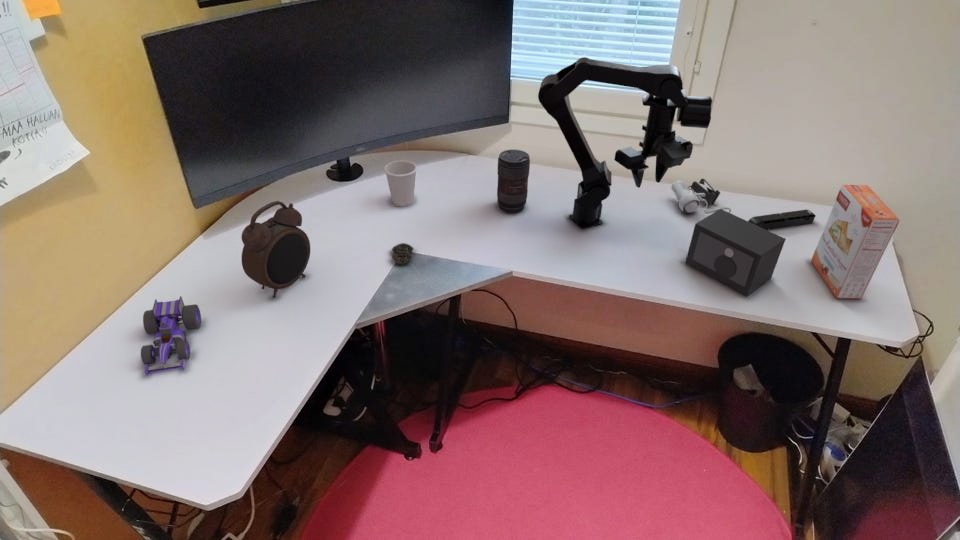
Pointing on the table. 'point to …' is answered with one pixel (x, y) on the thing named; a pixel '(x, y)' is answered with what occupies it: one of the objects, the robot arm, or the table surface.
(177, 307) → the toy race car
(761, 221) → the tablet stand
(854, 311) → the table surface
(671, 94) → the robot arm
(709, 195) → the clip-on lamp
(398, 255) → the corroded twin loop
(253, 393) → the table surface
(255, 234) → the alarm clock
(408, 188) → the dixie cup
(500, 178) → the camera lens
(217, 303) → the table surface
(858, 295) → the cracker box
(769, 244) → the speaker
